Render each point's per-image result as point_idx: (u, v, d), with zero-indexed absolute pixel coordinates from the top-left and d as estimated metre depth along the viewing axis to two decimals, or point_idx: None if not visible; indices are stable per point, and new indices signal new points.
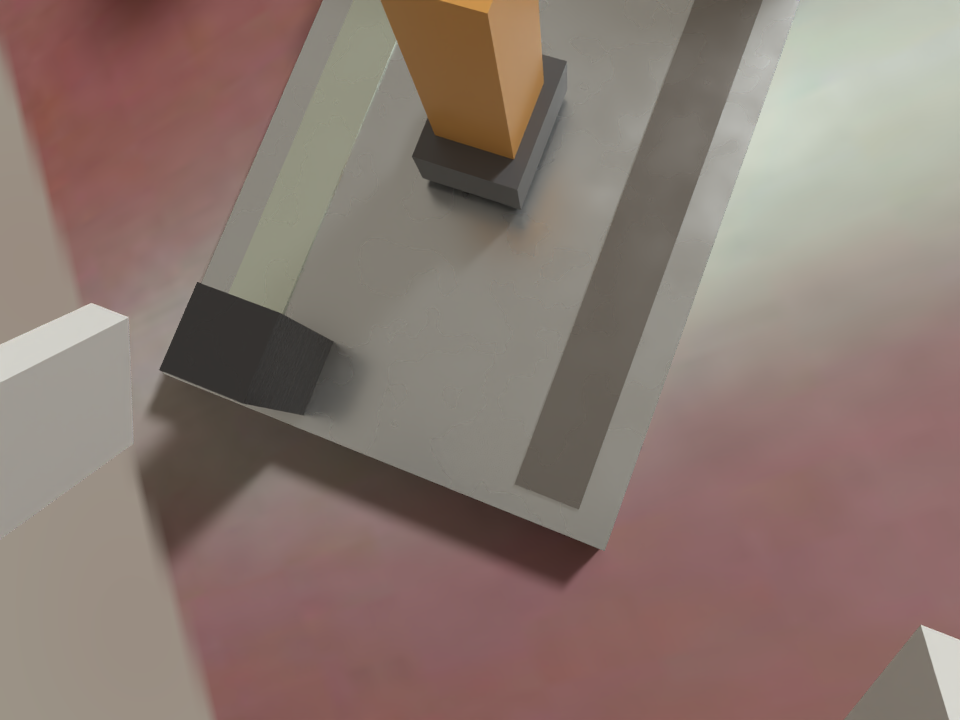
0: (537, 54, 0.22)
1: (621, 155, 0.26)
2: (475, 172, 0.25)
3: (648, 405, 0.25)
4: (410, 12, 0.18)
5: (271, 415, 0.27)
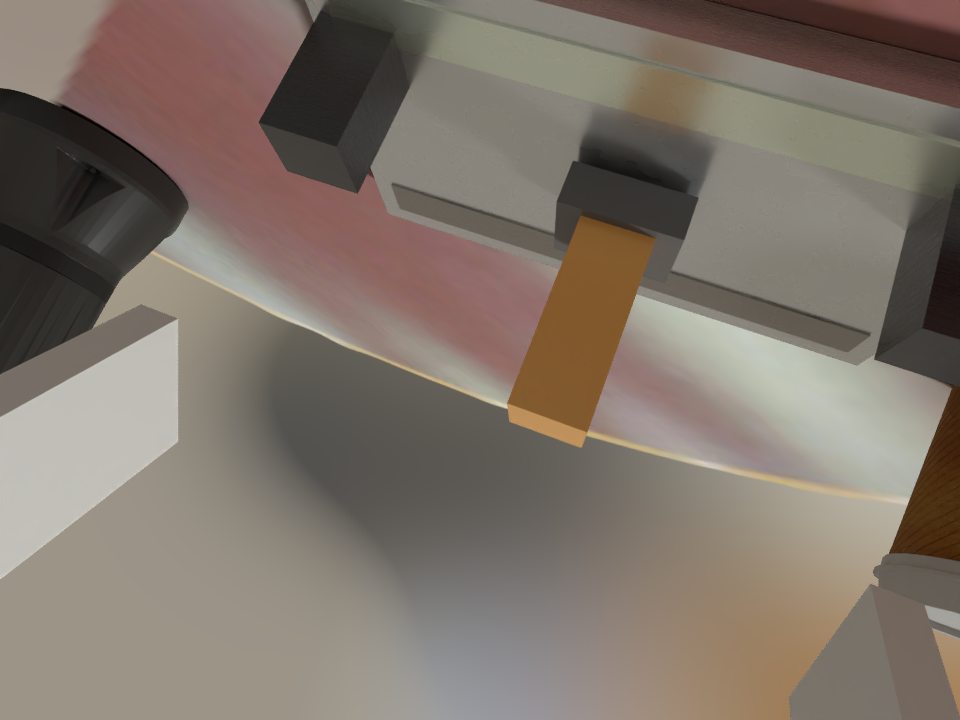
0: None
1: None
2: (558, 231, 0.29)
3: (474, 239, 0.39)
4: None
5: None
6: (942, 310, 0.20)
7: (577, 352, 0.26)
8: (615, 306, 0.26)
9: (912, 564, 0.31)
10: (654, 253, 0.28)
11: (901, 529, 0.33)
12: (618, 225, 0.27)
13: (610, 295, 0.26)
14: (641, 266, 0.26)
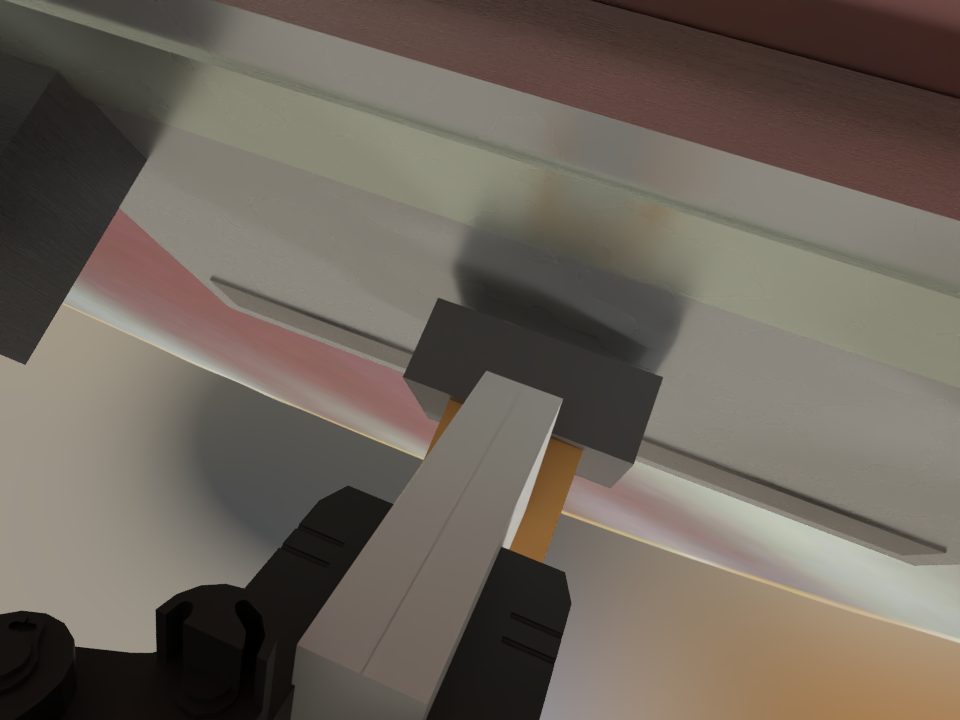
0: None
1: None
2: (425, 405, 0.17)
3: (348, 350, 0.26)
4: None
5: None
6: None
7: None
8: None
9: None
10: (584, 461, 0.16)
11: None
12: None
13: None
14: (554, 506, 0.14)
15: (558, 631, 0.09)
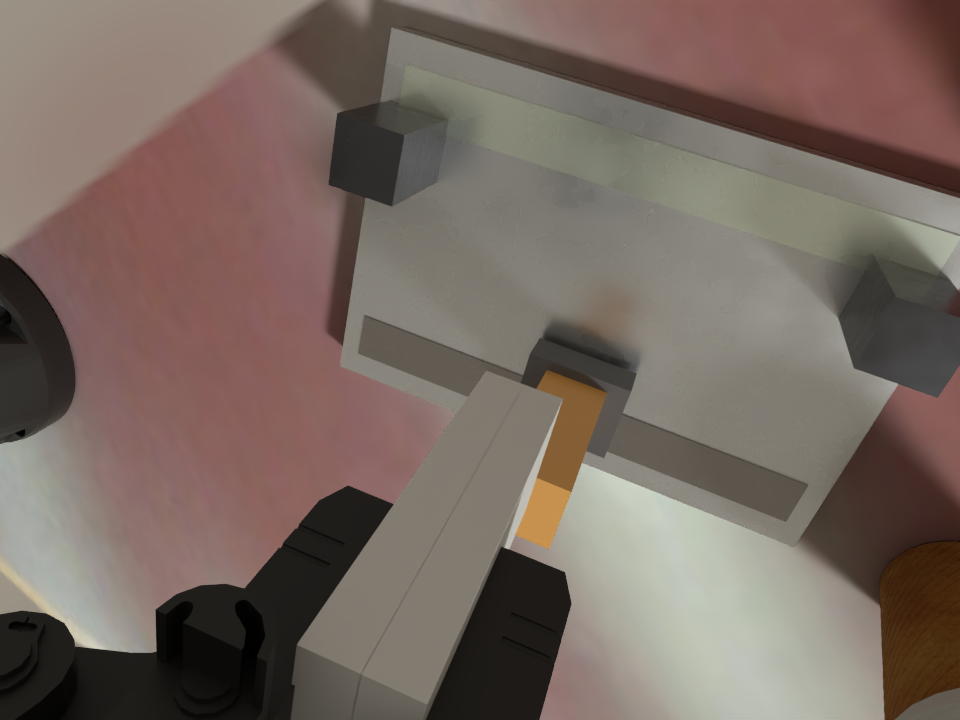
0: None
1: None
2: None
3: (424, 395, 0.39)
4: None
5: None
6: (904, 293, 0.25)
7: (555, 441, 0.28)
8: (582, 421, 0.30)
9: (923, 709, 0.27)
10: (601, 414, 0.33)
11: (891, 704, 0.29)
12: (577, 379, 0.33)
13: (577, 414, 0.30)
14: (599, 404, 0.32)
15: (558, 631, 0.09)
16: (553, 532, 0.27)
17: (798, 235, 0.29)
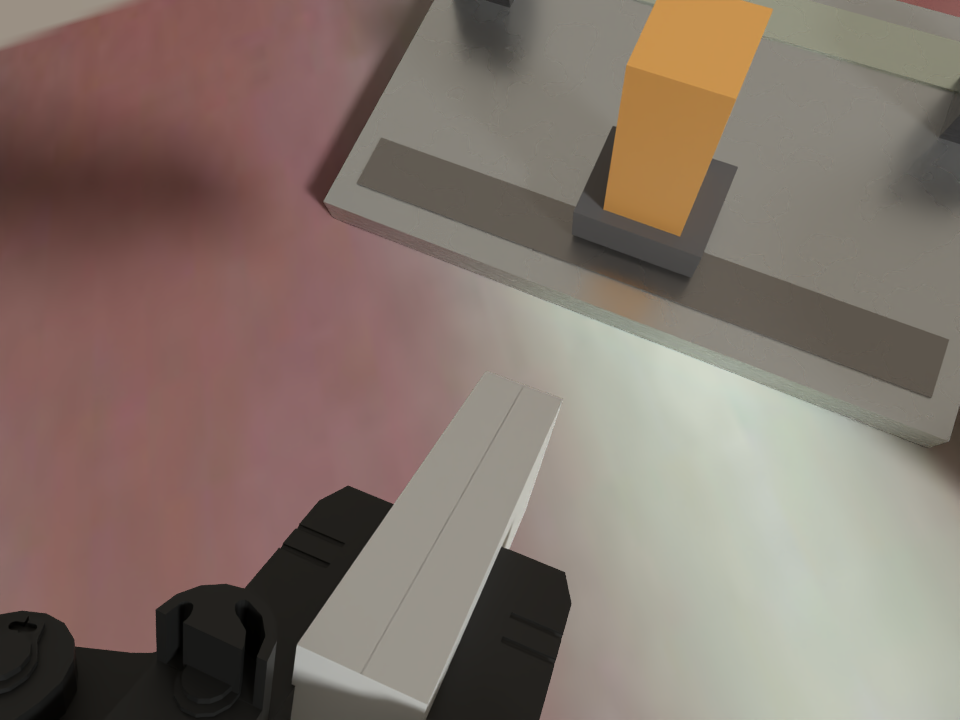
0: (681, 202, 0.24)
1: None
2: (593, 177, 0.27)
3: (435, 238, 0.29)
4: None
5: None
6: None
7: None
8: None
9: None
10: (700, 197, 0.26)
11: None
12: None
13: None
14: None
15: (558, 631, 0.09)
16: (744, 71, 0.18)
17: (884, 58, 0.30)
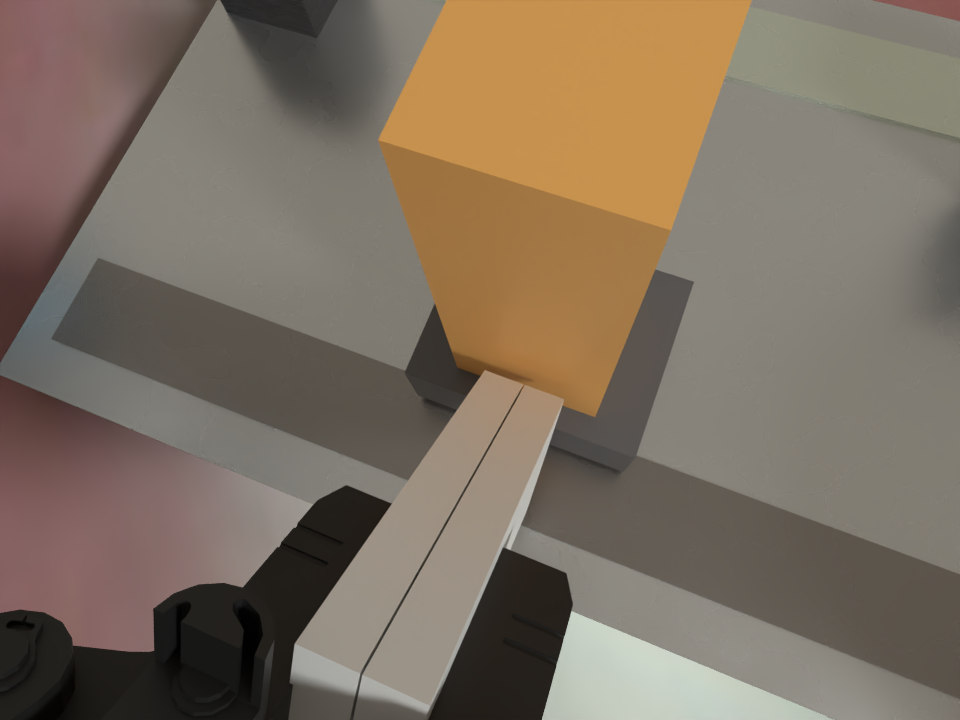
0: (585, 381, 0.12)
1: None
2: None
3: (177, 435, 0.17)
4: None
5: None
6: None
7: None
8: None
9: None
10: (629, 340, 0.15)
11: None
12: None
13: None
14: None
15: (560, 632, 0.09)
16: (690, 151, 0.07)
17: (911, 107, 0.18)
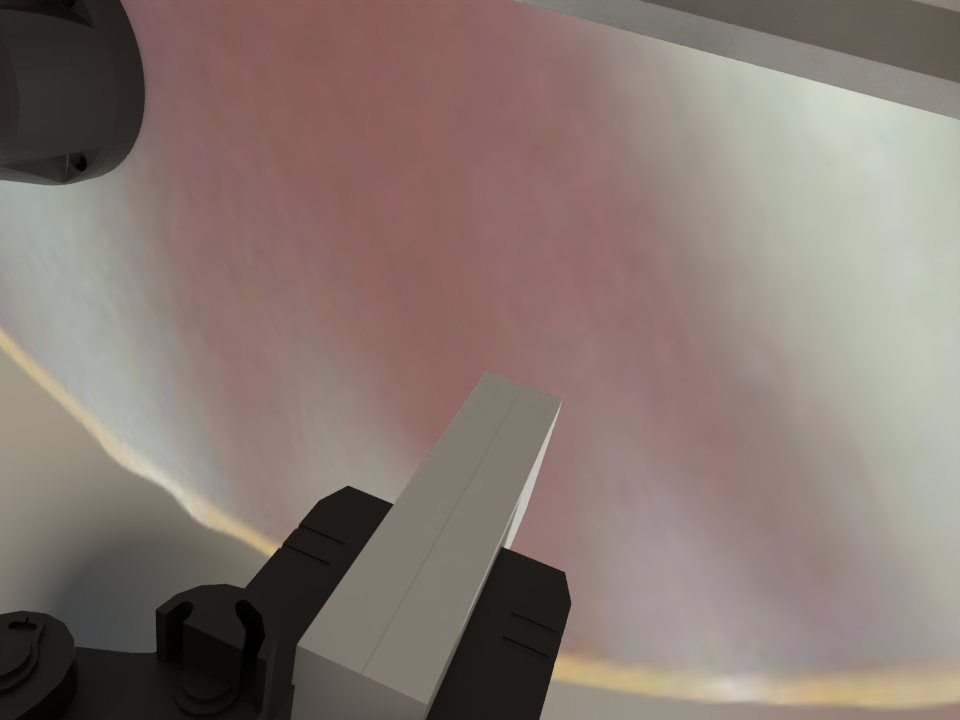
0: None
1: None
2: None
3: (593, 15, 0.32)
4: None
5: None
6: None
7: None
8: None
9: None
10: None
11: None
12: None
13: None
14: None
15: (558, 631, 0.09)
16: None
17: None
